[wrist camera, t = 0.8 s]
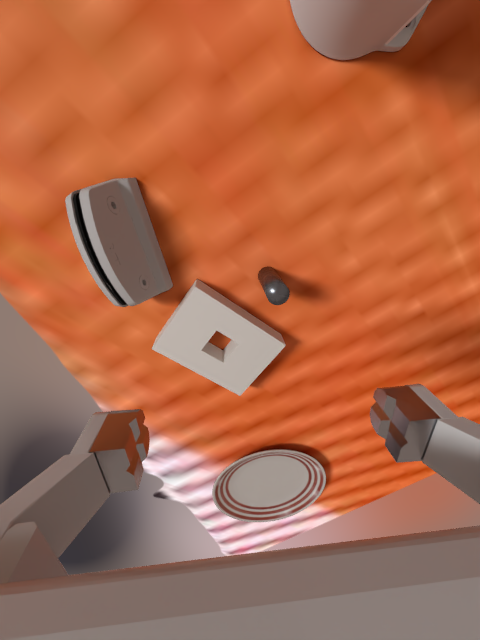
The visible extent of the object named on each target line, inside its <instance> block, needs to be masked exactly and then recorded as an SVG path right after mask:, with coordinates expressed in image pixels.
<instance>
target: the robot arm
mask: <svg viewBox="0 0 480 640" xmlns="http://www.w3.org/2000/svg"><path fill="white" fill-rule="evenodd" d="M431 1H432V0H290V3H291V8H292V11H293V15H294V18H295V20H296V23H297V25H298V27H299V29H300V31H301V33H302V34H303V36H304V37H305V39H306V40H307V41H308V43H309V44H310V45H311V46H312V47H313V48H314V49H315V50H317V51H318V52H320V53H321V54H323V55H325V56H327V57H329V58H333V59H337V60H350V59H355V58H358V57H361V56H363V55H366V54H368V53H370V52H373V51H377V50H378V51H385V52H396V51H399V50H400V49H402V48H403V47H404V46H405V45H406V44H407V42H408V41H409V39H410V38H411V36H412V34H413V32H414V30H415V29H416V27H417V25H418V23H419V21H420V19H421V18H422V16H423V14H424V12H425V10H426V8H427V7H428V5H429V3H430V2H431ZM406 25H407V27H405V26H406ZM373 398H374V399H375V400H376V403H375V404H374V405H373V406H372V407H371V411H370V418H371V423H372V425H373V428H374V429H375V431H376V432H377V434H378V435H380V436H381V437H383V438H384V439H386V441H385V446H386V447H387V449H388V450H389V452H390V453H391V455H392V456H393V458H394V459H395V461H396V462H411V461H422V462H423V463H424V464H426V465H427V466H428V467H430V468H431V469H433V470H434V471H435V472H437V473H438V474H440V475H441V476H442V477H443V478H445V479H446V480H448V481H449V482H450V483H452V484H453V485H454V486H456V487H457V488H459V489H460V490H461V491H463V492H464V493H465V494H467V495H468V496H469V497H471V498H472V499H474V500H475V501H477V502H478V503H479V504H480V424H477V423H475V422H473V421H471V420H468V419H466V418H464V417H457V416H456V415H455V414H454V413H453V412H452V411H451V410H450V409H449V408H447V407H446V406H445V405H444V404H443V403H442V402H441V401H440V400H439V399H438V398H436V397H435V396H434V395H433V394H432V393H431V392H430V391H429V390H428V389H427V388H426V387H424V386H423V385H421V384H413V385H405V386H395V387H385V388H377V389H376V390H375V392H374V396H373ZM144 420H145V416H144V413H143V410H141V409H137V410H122V411H111V412H96V413H95V414H93V415H92V416H91V418H90V420H89V421H88V423H87V425H86V426H85V428H84V430H83V432H82V433H81V435H80V437H79V439H78V441H77V442H76V444H75V446H74V448H73V449H72V451H71V453H70V455H64V456H63V457H62V458H60V459H59V460H58V461H56V462H55V463H54V464H53V465H51V466H50V467H49V468H47V469H46V470H45V471H44V472H42V473H41V474H40V475H38V476H37V477H36V478H34V479H33V480H32V481H31V482H29V483H28V484H27V485H25V486H24V487H23V488H21V489H20V490H19V491H18V492H17V493H15V494H14V495H12V496H11V497H10V498H8V499H7V500H6V501H5V502H3V503H2V504H1V505H0V640H480V526H472V527H464V528H456V529H448V530H439V531H431V532H423V533H414V534H406V535H398V536H390V537H381V538H373V539H364V540H356V541H348V542H340V543H332V544H323V545H315V546H306V547H299V548H290V549H282V550H274V551H265V552H257V553H249V554H241V555H232V556H224V557H216V558H208V559H199V560H191V561H183V562H175V563H166V564H159V565H150V566H142V567H133V568H125V569H117V570H109V571H100V572H92V573H84V574H76V575H67V572H66V570H65V569H64V568H63V566H62V564H61V563H60V561H59V560H58V558H59V556H60V555H61V554H62V553H63V552H64V550H65V549H66V548H67V547H68V545H69V544H70V543H71V542H72V541H73V539H74V538H75V537H76V536H77V535H78V533H79V532H80V531H81V530H82V528H83V527H84V526H85V525H86V524H87V523H88V521H89V520H90V519H91V518H92V516H93V515H94V514H95V513H96V512H97V510H98V509H99V508H100V507H101V505H102V504H103V503H104V502H105V501H106V499H107V498H108V497H109V496H110V493H117V492H125V491H132V490H138V488H139V484H140V481H141V477H142V473H143V466H142V461H143V460H144V459H145V458H146V457H147V454H148V450H149V431H148V428H147V427H146V426H145V425H144V424H143V423H144Z"/></svg>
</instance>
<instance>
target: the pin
mask: <svg viewBox="0 0 480 640" xmlns="http://www.w3.org/2000/svg"><path fill="white" fill-rule="evenodd" d="M258 279H259V281H260V283H261V285H262V287H263V290H264V292H265V294H266V296H267V298H268V300H269V302H270V303H272V304H274V305H281V304H283V303H285V302H286V301H287V300H288V298H289V289H288V288H287V286H286V285H285V284H284V282H283V281H282V279H281V278H280V277H279V275H278V274H277V273H276V271H275V270H274V269H273V268H272V267H264V268H262V269H261V270H260V271H259V273H258Z"/></svg>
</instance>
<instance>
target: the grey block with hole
mask: <svg viewBox="0 0 480 640" xmlns="http://www.w3.org/2000/svg"><path fill="white" fill-rule="evenodd" d="M216 331H218V332H220V333H222V334H223V335H225V336H227V337H228V338H230V339H232V340H231V341H230V342H229V344H228V345H227V346H226V347H225V348H224V350H221V349H220V348H218V347H216V346H215V345H213V344H211V343H209V342H208V341H209V340H210V338H211V337H212V336H213V334H214V333H215V332H216ZM285 346H286V344H285V342H284V340H283V337H282V335H281V334H280V333H279V332H277V331H276V330H274V329H273V328H271V327H270V326H268V325H267V324H265V323H264V322H262V321H260V320H259V319H257V318H256V317H254V316H253V315H251V314H250V313H248V312H247V311H245V310H244V309H242V308H241V307H239V306H238V305H236V304H235V303H233V302H232V301H230V300H229V299H227V298H226V297H224V296H223V295H221V294H220V293H218V292H217V291H215V290H214V289H212V288H210V287H209V286H207V285H206V284H204V283H203V282H201V281H200V280H198V279H196V281H195V282H194V284H193V285H192V287H191V288H190V290H189V291H188V292H187V294H186V295H185V297H184V298H183V300H182V301H181V303H180V304H179V305H178V307H177V308H176V310H175V311H174V313H173V314H172V316H171V317H170V318H169V320H168V321H167V323H166V324H165V326H164V327H163V329H162V330H161V331H160V333H159V334H158V336H157V337H156V340H155V342H154V345H153V347H152V349H153V350H155V351H156V352H158V353H160V354H162V355H164V356H166V357H168V358H170V359H172V360H173V361H175V362H177V363H179V364H181V365H183V366H185V367H187V368H189V369H190V370H192V371H194V372H196V373H198V374H200V375H202V376H204V377H205V378H207V379H209V380H211V381H213V382H215V383H217V384H219V385H221V386H222V387H224V388H226V389H228V390H230V391H232V392H234V393H236V394H238V395H239V396H240V395H241V394H242V393H243V392H244V391H245V390H246V389H247V388H248V387H249V386H250V384H251V383H252V382H253V381H254V380H255V379H256V378H257V377H258V376H259V375H260V373H261V372H262V371H263V370H264V369H265V368H266V367H267V366H268V365H269V364H270V362H271V361H272V360H273V359H274V358H275V357H276V356H277V355H278V354H279V353H280V351H281V350H282V349H283V348H284V347H285Z"/></svg>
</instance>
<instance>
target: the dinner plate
mask: <svg viewBox="0 0 480 640" xmlns="http://www.w3.org/2000/svg"><path fill="white" fill-rule="evenodd" d="M325 483H326V474H325V471H324V468H323V467H322V465H321V464H320V463H319V462H318V461H317V460H316V459H315V458H313V457H311V456H309V455H307V454H305V453H302V452H298V451H294V450H287V449H273V450H266V451H261V452H256V453H253V454H250V455H247V456H245V457H243V458H241V459H239V460H237V461H235V462H234V463H232V464H231V465H229V466H228V467H227V468H226V469H225V470H223V471H222V473H221V474H220V475H219V476H218V478H217V479H216V481H215V483H214V486H213V491H212V496H213V500H214V503H215V505H216V506H217V508H218V509H219V510H220V511H221V512H223V513H224V514H226V515H228V516H229V517H232V518H234V519H237V520H241V521H247V522H268V521H275V520H279V519H283V518H286V517H289V516H292V515H294V514H296V513H298V512H300V511H302V510H304V509H305V508H307V507H308V506H310V505H311V504H312V503H313V502H314V501H315V500H316V499H317V498H318V497H319V496H320V494H321V493H322V491H323V489H324V487H325Z"/></svg>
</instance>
